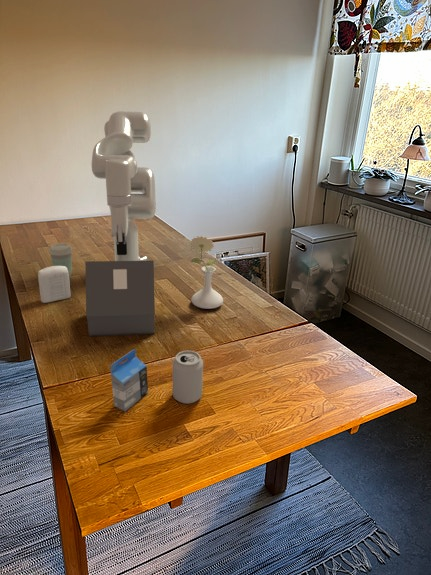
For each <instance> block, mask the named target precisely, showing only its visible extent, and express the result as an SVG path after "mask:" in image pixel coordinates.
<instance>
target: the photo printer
mask: <svg viewBox="0 0 431 575" xmlns="http://www.w3.org/2000/svg"><path fill="white" fill-rule="evenodd" d="M37 274H38V275H37V278H38V287H39V294H40V302H41V303H43V304H46V303H52V302H56V301H62V300H66V299H70V298H71V297H72V296H71V287H70V286H71V284H70V277H69V273H68V270H67V267H66V266H53V265H52V266H47V267H44V268H42V269H40V270H38V272H37Z"/></svg>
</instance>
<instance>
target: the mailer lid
mask: <svg viewBox="0 0 431 575" xmlns="http://www.w3.org/2000/svg"><path fill="white" fill-rule="evenodd" d="M84 266H85V316H86V318H87V317H89V316H119V315H150V314H154V315H155V314H156V311H155V310H156V309H155V308H156V307H155V305H156V304H155V303H156V302H155V269H154V268H155V267H154V260H152V259H151V260H147V261H115V260H108V261H107V260H98V261H96V260H95V261H85V264H84Z"/></svg>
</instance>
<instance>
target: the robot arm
mask: <svg viewBox="0 0 431 575" xmlns="http://www.w3.org/2000/svg"><path fill="white" fill-rule="evenodd" d="M103 132H104V136H105V137H103V138H102V139H100V140H99V141H98V142H96V144H95V145H94V147H93V150H92V155H91V171H92V174H93V175H94V177H95V178H97V179H101V180H102V179H103V180H105V188H106V201H107V204H106V205H107V206H109V212H110V226H111V228H110V232H111V233H110V234H111V237H112V238H113V248H114V261H148V257H147V256H142V257H140V255H139V254H140V253H139V229H138V226H137V225H136V223H135V222H134V221H133V220H134V219H135V220H139V219H141V220H145V219H147V220H148V219H153V218H154V217H155V215H156V209H157V208H156V206H157V205H156V184H155V174H154V172H153V170H152V169H151V168H149V167H146V166H145V167H144V166H142V167H140V166H138V162H137V161H136V158H135V155H134V153H133V152H132V151H131V148H132V147H133V144H135V143H137V144H145V143H146V144H147V143H148V142H149V141H150V139H151V134H152V132H151V121H150V118H149V115H148V114H146V113H145V112H142V111H125V110H124V111H116V112H113V113H112V114H111V115H110V116H109V118H108V120H107V121H106V122H105V123H104V131H103Z"/></svg>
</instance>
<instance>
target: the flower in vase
mask: <svg viewBox="0 0 431 575" xmlns="http://www.w3.org/2000/svg"><path fill="white" fill-rule="evenodd" d="M189 245H190V247H191V248H192V249H193V250H194V251H196V252H199V253H200V258H198V257H195V258H192V259H191V260H190V261H189V262H190V263H195V264H200V263H202V264H203V265H204V266H202V267H201V269H200V270H201V271H202V273H203V275H204V285H203V288H201V289H200V290H198V291H196V292H195V293H194V294H193V295H192V296H191V298H190V299H191V300H190V301H191V303H192V304H193V305H194V306H195V307H197V308H200V309H211V310H212V309H216V308H219V307H220V306H222V304H223V303H224V299H223V296H222V295H221V294H220V293H219V292H217V291H216V290H215V289H213V287H212V279H213V278H212V277H213V274H214V273H215V271H216V270H217V269H216V267H215V266H212V265H213V264H215V262H216V260H217V259H216V258H215V259H212V260H211V259H210V260H208V261H207V262H206V264H205V262H204V261H203V253H205V252H206V253H208V252H210V251H212V249H213V248H214V246H215V245H214V243H213V240H212V239H210V238H207V236H196V237H193V239H191V240H190V242H189Z"/></svg>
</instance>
